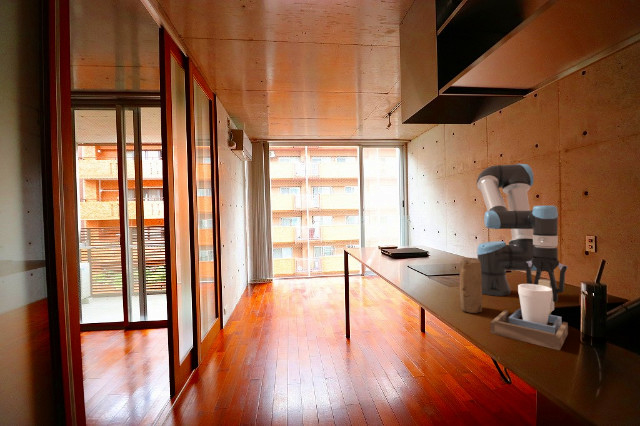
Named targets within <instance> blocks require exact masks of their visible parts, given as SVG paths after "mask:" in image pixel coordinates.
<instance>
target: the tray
mask: <svg viewBox="0 0 640 426" xmlns="http://www.w3.org/2000/svg"><path fill="white" fill-rule="evenodd" d="M538 285H542V286H546V287H549V288H552V286H551V282H550V279H548V278H547V279H546V278H540V279H539V280H538ZM552 312H553V311H550V309H549V316H548V322H547V323H550V324H552V325H549V324H547V325H544V324H540V323H535V322H530V321H525V320H523V319H520V318H523V317H522V311H521V308H517V309H516V310H515V311H514V312H513V313H511V315H509V316H508V323H509V324H514V325H518V326H523V327H527V328H532V329H536V330H541V331H545V332H550V333H554V334H555V335H556V333H557V331H558V330H559V328H560V326H561V324H562V323H563V321H562V319H563V318H562V316H559V315H555V314H554V315H553V314H552Z"/></svg>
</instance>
